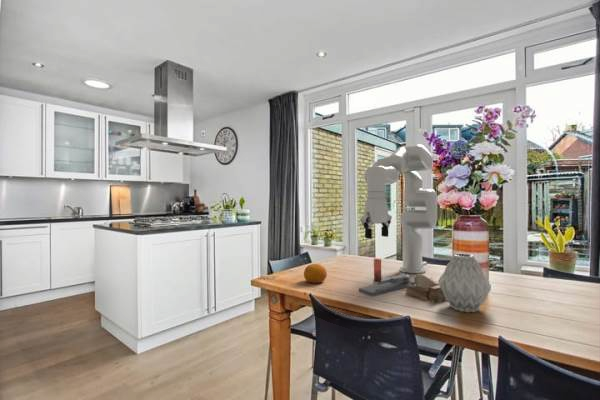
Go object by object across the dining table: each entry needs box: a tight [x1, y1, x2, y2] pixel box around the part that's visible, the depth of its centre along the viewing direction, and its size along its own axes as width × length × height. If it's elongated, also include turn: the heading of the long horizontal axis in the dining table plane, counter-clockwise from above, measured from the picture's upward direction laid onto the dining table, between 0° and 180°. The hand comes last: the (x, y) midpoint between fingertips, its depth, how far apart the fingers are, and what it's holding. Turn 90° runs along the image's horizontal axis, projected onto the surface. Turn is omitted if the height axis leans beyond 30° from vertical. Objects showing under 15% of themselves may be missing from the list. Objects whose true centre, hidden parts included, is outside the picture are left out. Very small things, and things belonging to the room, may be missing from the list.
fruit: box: [303, 263, 328, 284], centre depth 145 cm, size 10×10×8 cm
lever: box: [373, 258, 411, 285], centre depth 135 cm, size 21×6×11 cm, turn 124°
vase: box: [437, 253, 492, 313], centre depth 109 cm, size 16×16×18 cm
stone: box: [413, 273, 437, 290], centre depth 125 cm, size 10×7×10 cm
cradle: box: [405, 281, 446, 303], centre depth 124 cm, size 13×12×5 cm
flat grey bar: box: [358, 277, 415, 297], centre depth 134 cm, size 26×8×2 cm, turn 124°
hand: (376, 237), depth 131 cm, fingers open, 9 cm apart
